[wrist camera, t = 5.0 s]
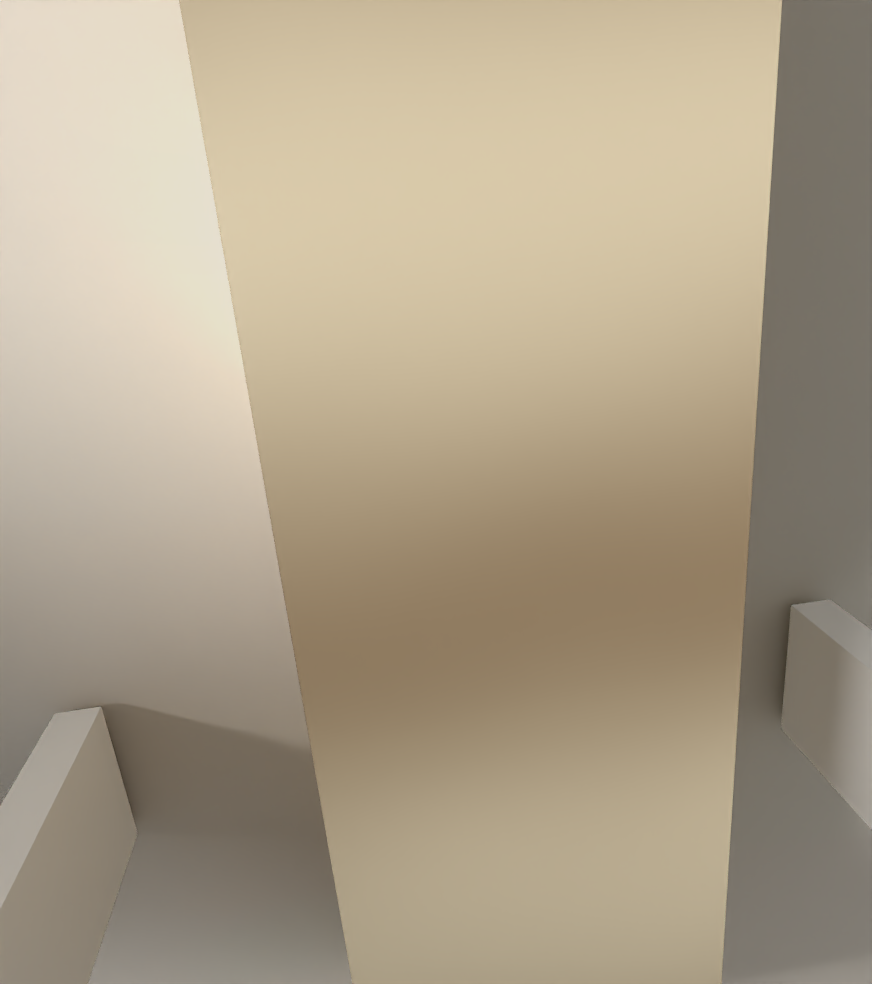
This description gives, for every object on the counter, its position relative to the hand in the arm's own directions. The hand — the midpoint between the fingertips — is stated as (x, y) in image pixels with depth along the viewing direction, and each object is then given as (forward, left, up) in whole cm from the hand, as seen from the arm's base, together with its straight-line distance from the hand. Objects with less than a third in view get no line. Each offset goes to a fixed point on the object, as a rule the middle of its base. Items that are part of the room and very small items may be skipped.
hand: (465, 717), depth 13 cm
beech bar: (+3, +4, 0) cm, 5 cm away
